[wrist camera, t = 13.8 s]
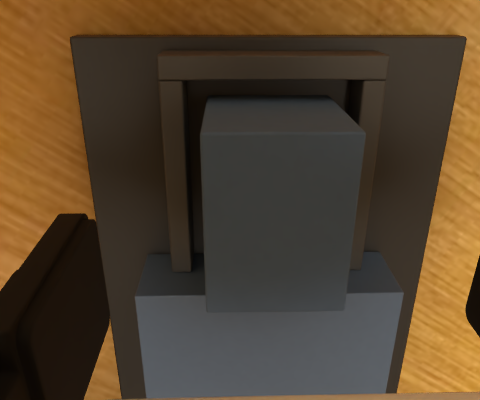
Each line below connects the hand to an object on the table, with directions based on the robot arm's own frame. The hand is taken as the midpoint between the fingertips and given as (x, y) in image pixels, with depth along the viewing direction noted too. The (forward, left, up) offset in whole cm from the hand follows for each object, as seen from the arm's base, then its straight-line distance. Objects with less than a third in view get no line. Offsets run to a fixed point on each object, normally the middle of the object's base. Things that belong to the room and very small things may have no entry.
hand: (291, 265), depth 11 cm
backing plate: (+6, -5, -8) cm, 12 cm away
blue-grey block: (0, 0, -8) cm, 8 cm away
